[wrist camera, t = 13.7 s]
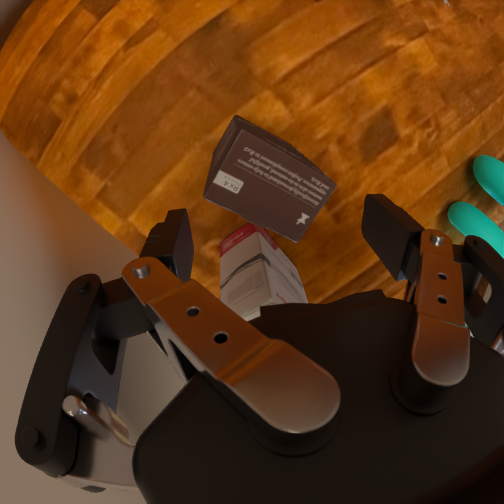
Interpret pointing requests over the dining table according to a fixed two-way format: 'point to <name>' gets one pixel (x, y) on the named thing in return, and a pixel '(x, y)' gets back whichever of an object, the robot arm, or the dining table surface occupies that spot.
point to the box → (266, 180)
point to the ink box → (256, 273)
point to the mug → (484, 289)
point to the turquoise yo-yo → (472, 219)
